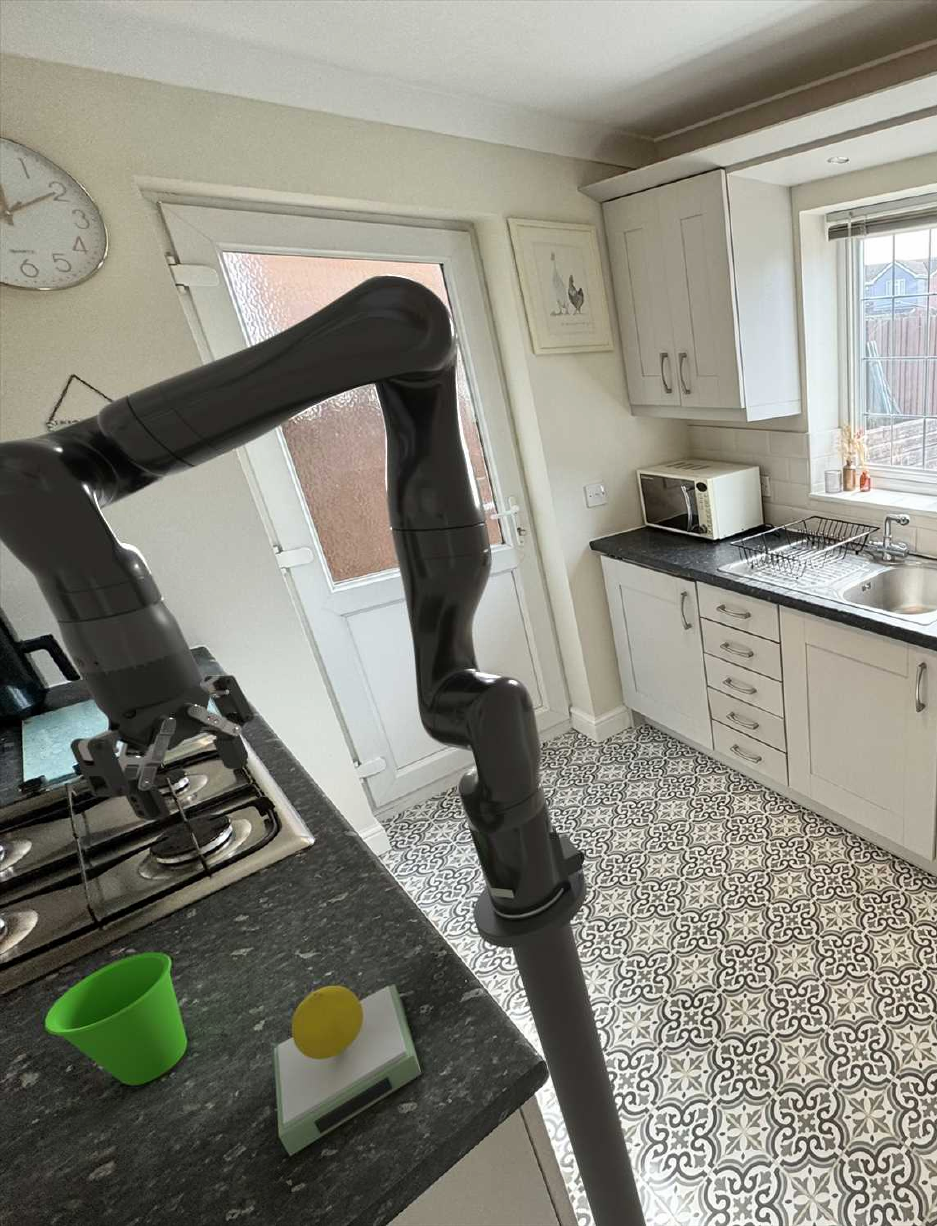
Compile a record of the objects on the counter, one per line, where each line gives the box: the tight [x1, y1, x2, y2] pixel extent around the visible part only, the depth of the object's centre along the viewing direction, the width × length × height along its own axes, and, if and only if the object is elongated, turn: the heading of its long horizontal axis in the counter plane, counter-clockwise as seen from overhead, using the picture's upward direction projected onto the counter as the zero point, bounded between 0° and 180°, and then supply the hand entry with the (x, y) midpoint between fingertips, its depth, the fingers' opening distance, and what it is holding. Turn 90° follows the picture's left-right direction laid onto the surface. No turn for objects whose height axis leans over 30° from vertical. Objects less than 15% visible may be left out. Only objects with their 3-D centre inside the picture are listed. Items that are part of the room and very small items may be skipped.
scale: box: [273, 983, 422, 1157], centre depth 66 cm, size 11×11×4 cm
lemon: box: [291, 985, 363, 1059], centre depth 64 cm, size 6×6×8 cm
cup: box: [44, 951, 188, 1086], centre depth 67 cm, size 9×9×11 cm
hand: (200, 790), depth 67 cm, fingers open, 8 cm apart
